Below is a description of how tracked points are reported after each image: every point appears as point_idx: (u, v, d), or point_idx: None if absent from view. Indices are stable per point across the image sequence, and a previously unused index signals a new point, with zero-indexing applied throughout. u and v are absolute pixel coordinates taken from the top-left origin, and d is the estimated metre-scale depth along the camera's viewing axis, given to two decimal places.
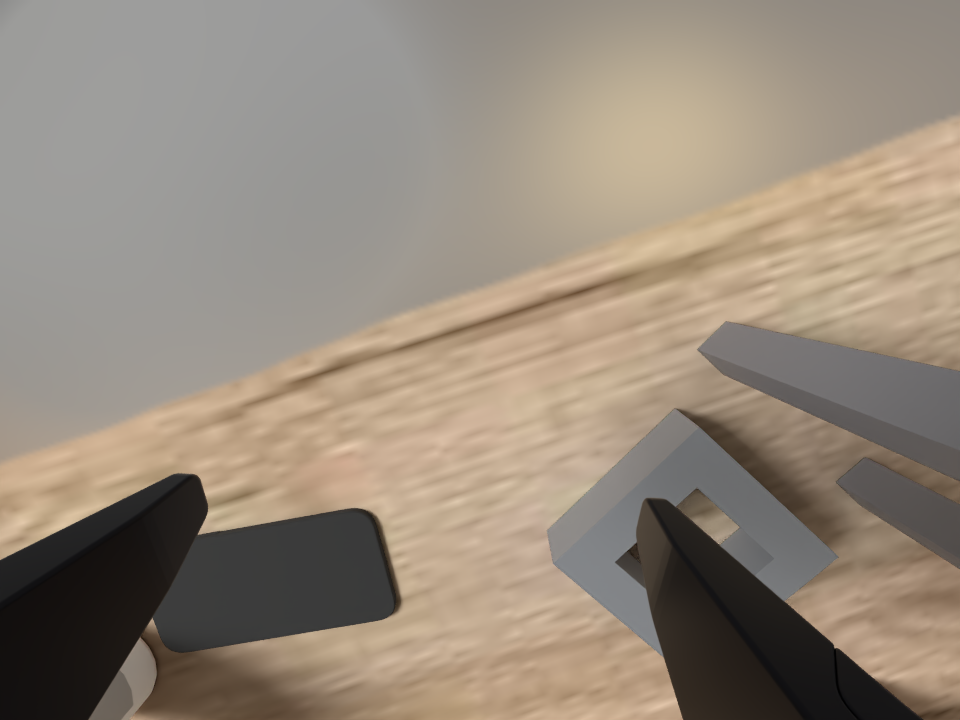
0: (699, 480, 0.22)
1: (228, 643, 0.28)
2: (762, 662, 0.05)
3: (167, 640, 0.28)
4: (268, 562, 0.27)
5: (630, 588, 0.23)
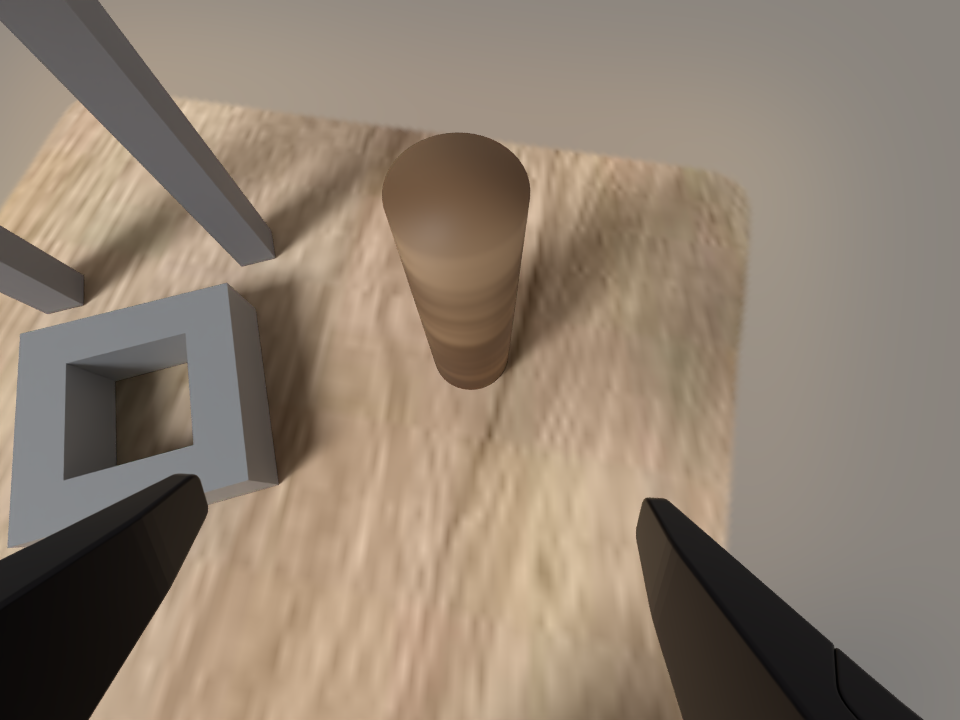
0: (62, 357, 0.21)
1: None
2: (762, 662, 0.05)
3: None
4: None
5: (102, 481, 0.20)
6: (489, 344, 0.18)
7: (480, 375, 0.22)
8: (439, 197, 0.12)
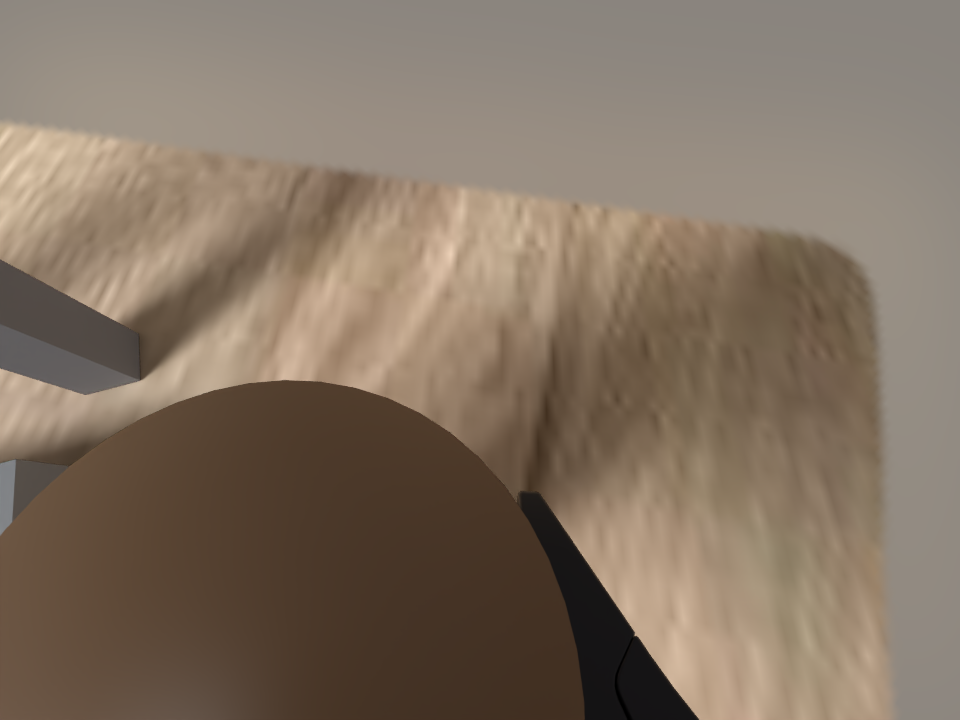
0: None
1: None
2: None
3: None
4: None
5: None
6: None
7: None
8: None
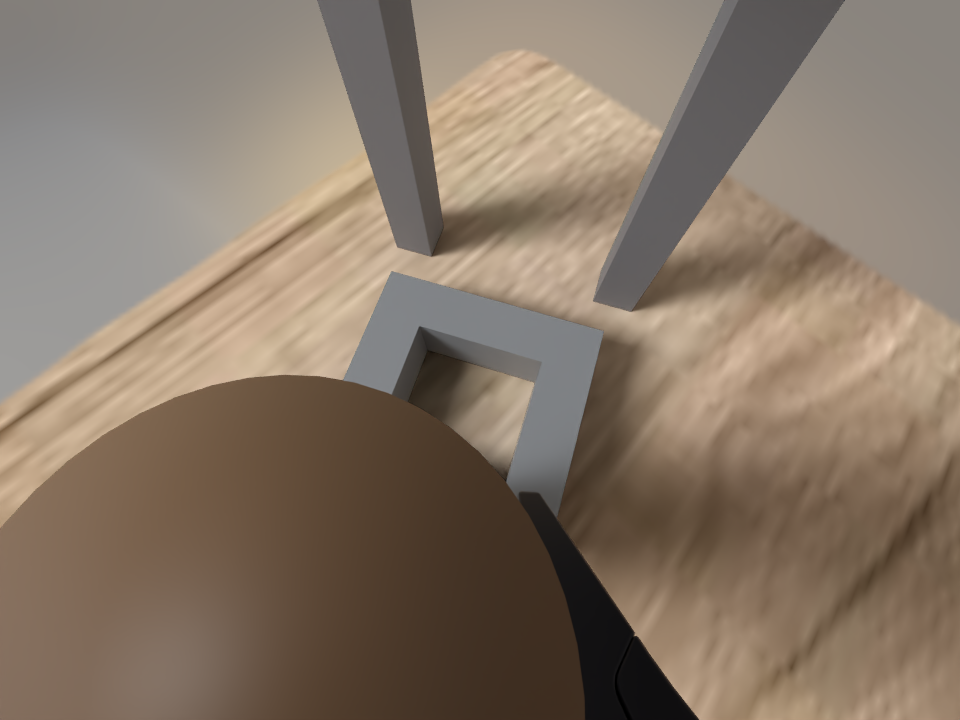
0: (418, 317, 0.20)
1: None
2: None
3: None
4: None
5: None
6: None
7: None
8: None
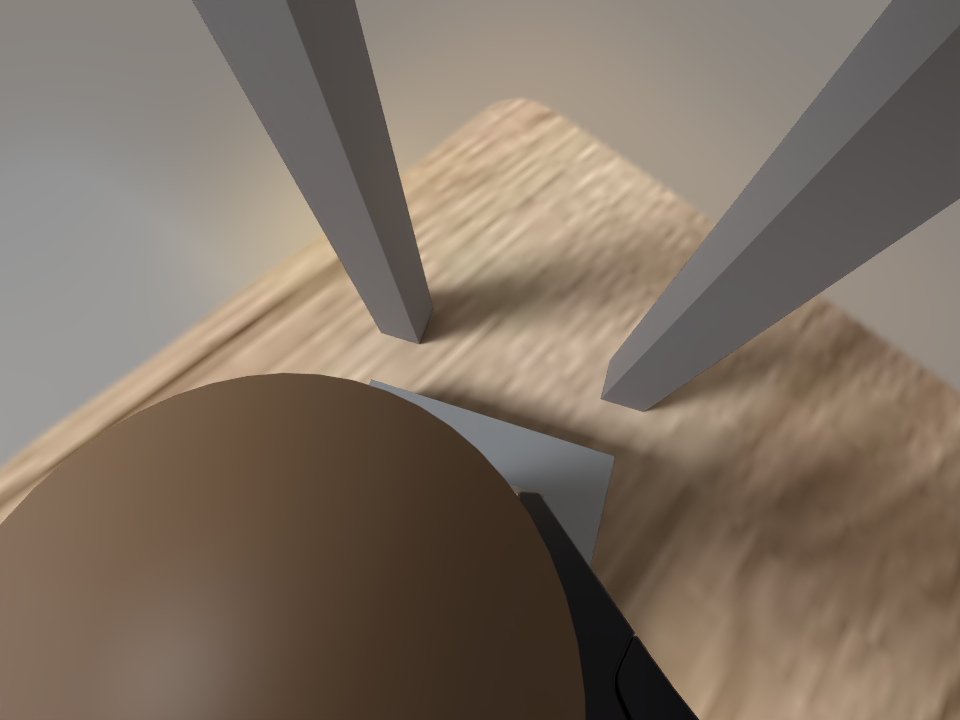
0: None
1: None
2: None
3: None
4: None
5: None
6: None
7: None
8: None
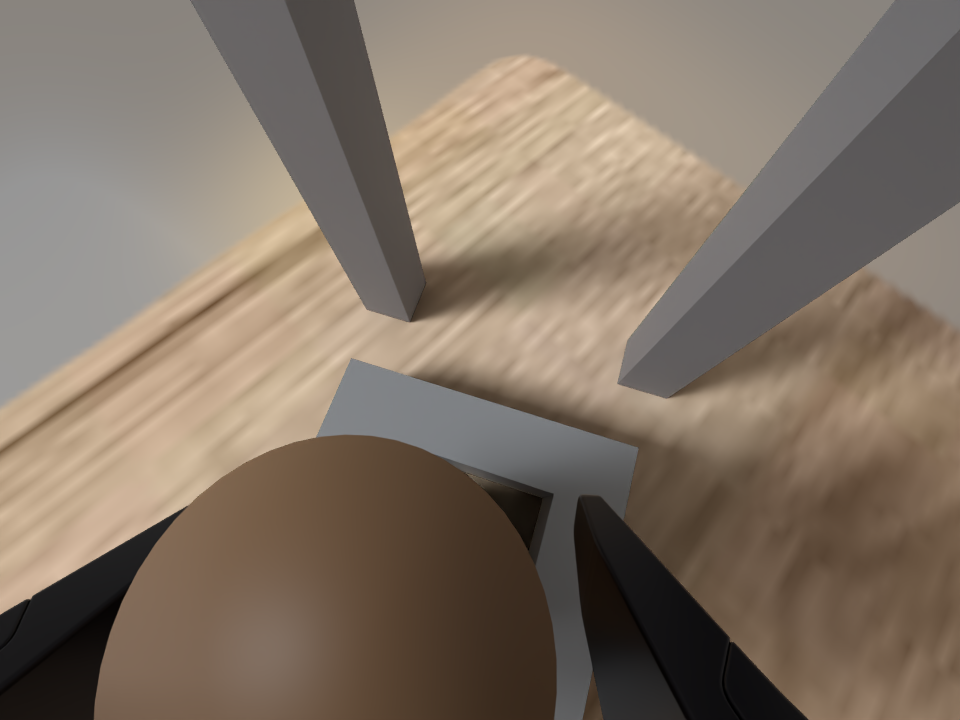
0: (385, 426, 0.15)
1: None
2: (655, 656, 0.05)
3: None
4: None
5: None
6: None
7: None
8: (275, 693, 0.04)
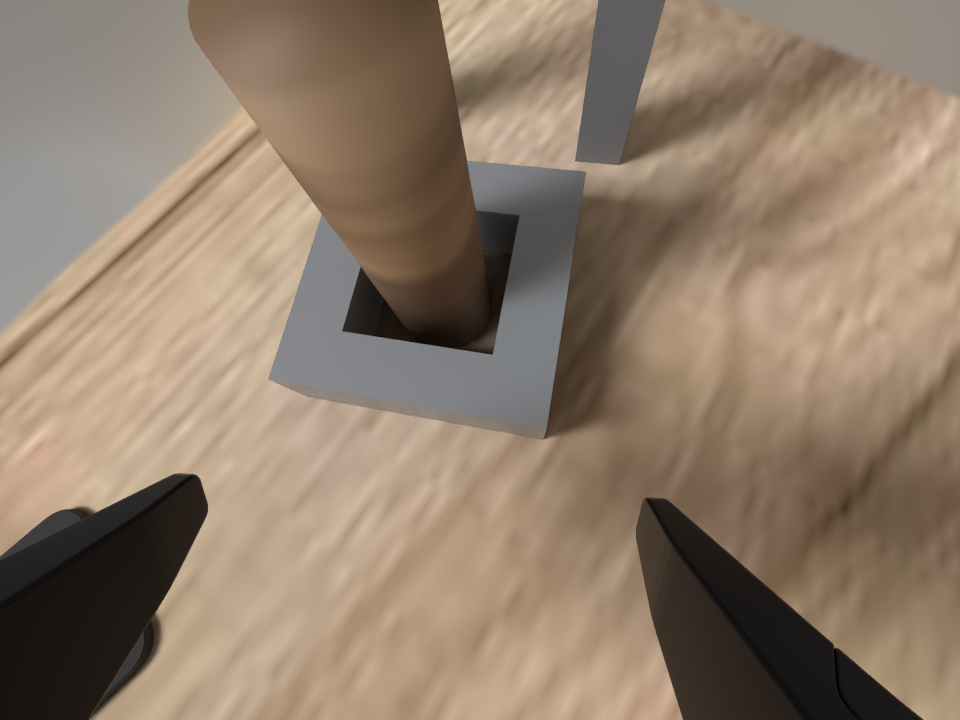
0: None
1: None
2: (762, 662, 0.05)
3: None
4: None
5: (381, 351, 0.16)
6: (448, 274, 0.13)
7: (454, 325, 0.17)
8: None
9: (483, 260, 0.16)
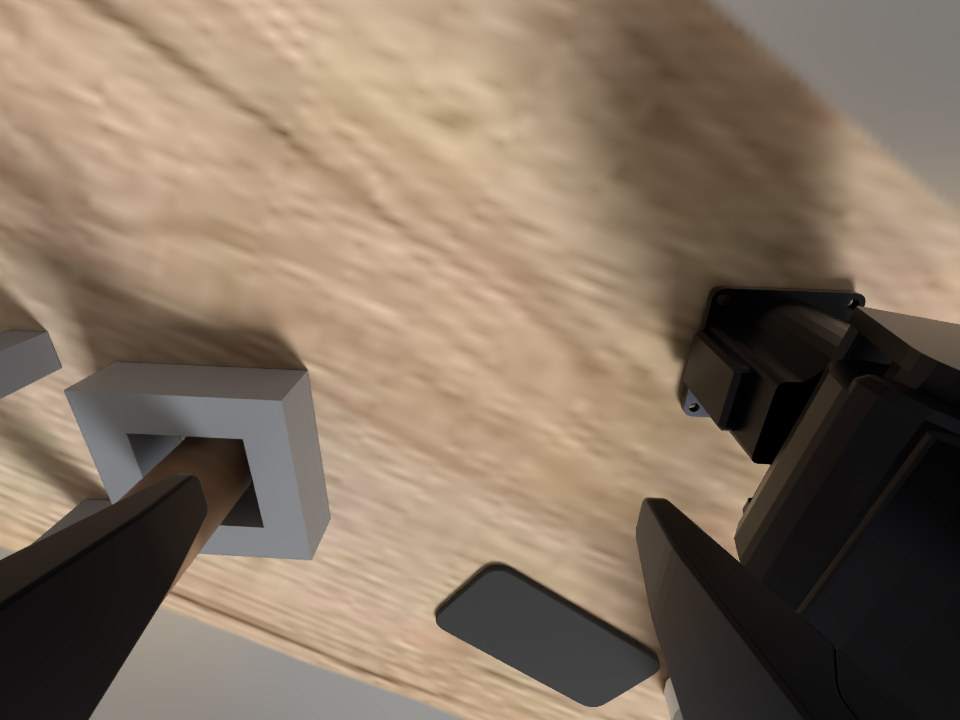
0: None
1: (622, 641, 0.30)
2: (762, 662, 0.05)
3: (651, 671, 0.31)
4: (527, 650, 0.31)
5: (268, 504, 0.23)
6: None
7: (235, 458, 0.22)
8: None
9: (170, 462, 0.21)
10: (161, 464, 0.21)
